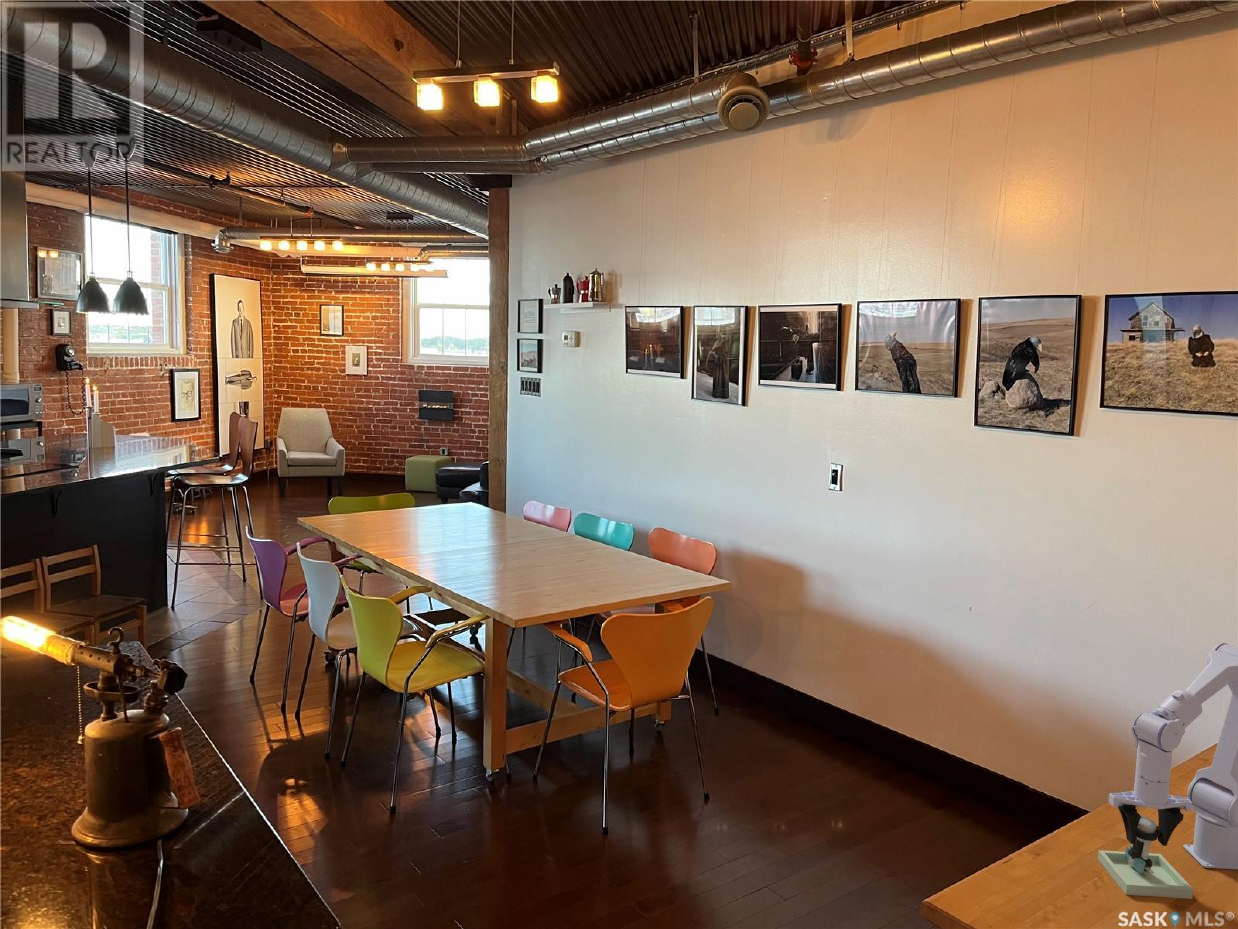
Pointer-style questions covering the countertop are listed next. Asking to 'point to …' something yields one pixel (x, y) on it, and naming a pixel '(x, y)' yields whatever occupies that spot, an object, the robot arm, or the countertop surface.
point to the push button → (1142, 846)
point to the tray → (1145, 876)
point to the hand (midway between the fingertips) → (1146, 842)
